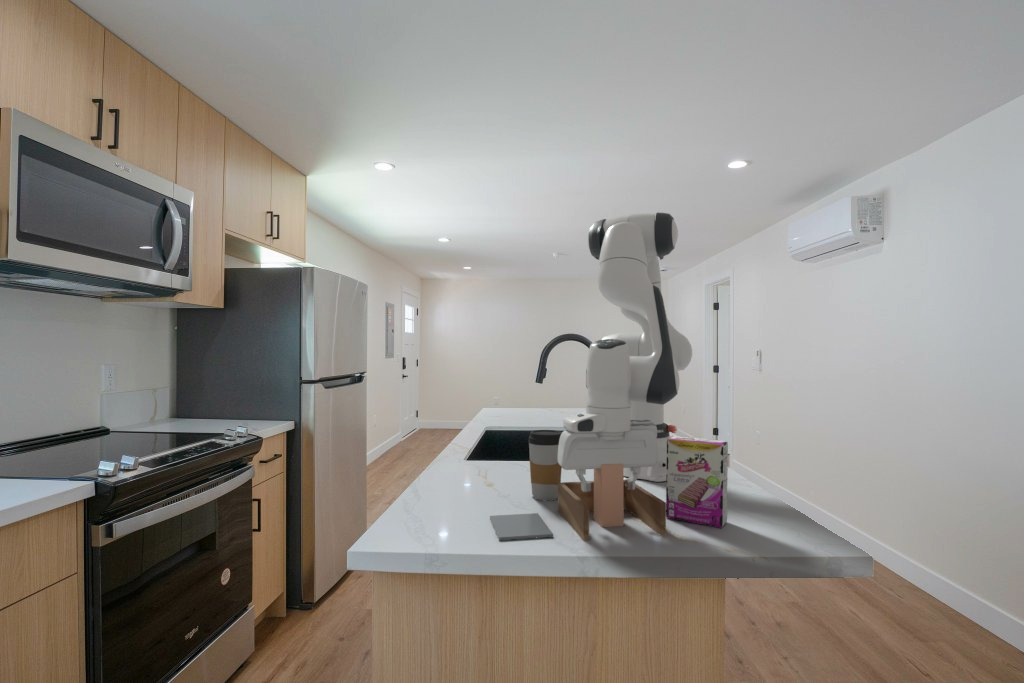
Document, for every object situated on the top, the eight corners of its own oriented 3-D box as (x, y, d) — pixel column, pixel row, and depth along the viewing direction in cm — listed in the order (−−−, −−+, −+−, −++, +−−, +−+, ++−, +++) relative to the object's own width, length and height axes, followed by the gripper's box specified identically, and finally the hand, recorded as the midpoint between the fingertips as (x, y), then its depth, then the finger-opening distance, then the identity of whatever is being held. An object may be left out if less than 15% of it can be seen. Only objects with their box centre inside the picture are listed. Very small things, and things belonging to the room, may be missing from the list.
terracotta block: (614, 518, 105) (614, 459, 106) (623, 525, 101) (623, 464, 101) (593, 519, 105) (593, 460, 105) (601, 526, 100) (601, 465, 100)
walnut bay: (628, 507, 113) (628, 479, 113) (665, 535, 96) (665, 502, 96) (557, 510, 110) (558, 482, 110) (583, 540, 93) (583, 507, 93)
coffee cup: (561, 503, 115) (561, 436, 115) (524, 500, 117) (525, 434, 117) (565, 493, 123) (565, 430, 123) (530, 490, 125) (531, 428, 125)
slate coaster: (537, 516, 106) (537, 513, 106) (553, 537, 95) (553, 533, 95) (489, 518, 104) (489, 515, 104) (499, 540, 93) (499, 537, 93)
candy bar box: (665, 519, 105) (665, 438, 105) (671, 512, 109) (671, 434, 109) (723, 529, 99) (723, 444, 99) (728, 522, 103) (728, 440, 103)
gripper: (649, 417, 108) (649, 483, 108) (555, 419, 104) (555, 488, 104) (664, 421, 102) (664, 492, 102) (564, 423, 98) (563, 496, 98)
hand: (608, 490), depth 103 cm, fingers open, 8 cm apart
